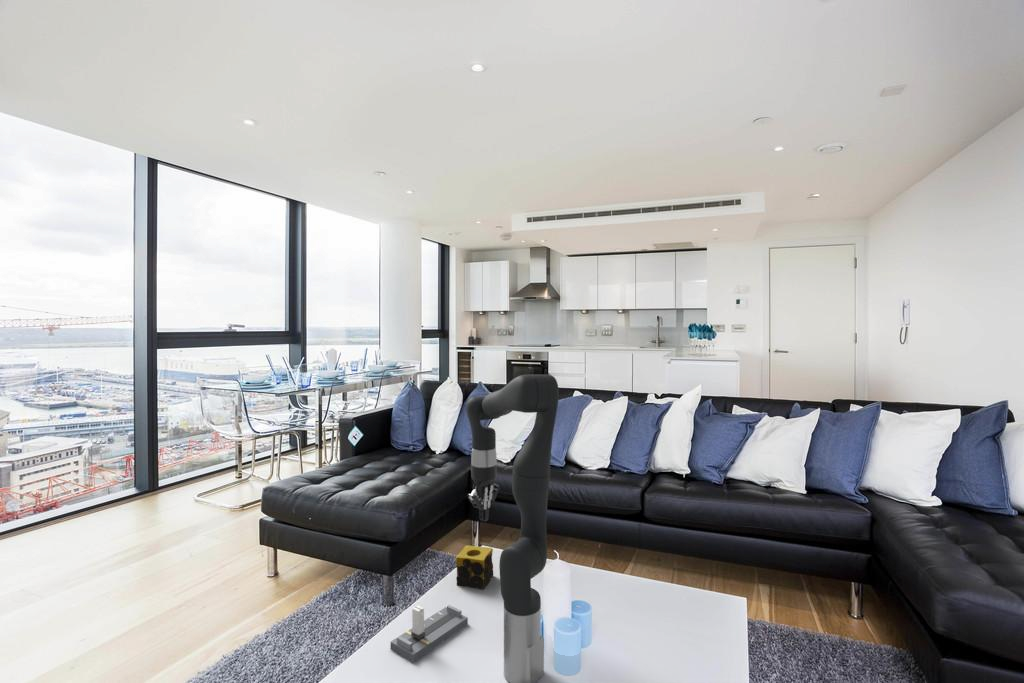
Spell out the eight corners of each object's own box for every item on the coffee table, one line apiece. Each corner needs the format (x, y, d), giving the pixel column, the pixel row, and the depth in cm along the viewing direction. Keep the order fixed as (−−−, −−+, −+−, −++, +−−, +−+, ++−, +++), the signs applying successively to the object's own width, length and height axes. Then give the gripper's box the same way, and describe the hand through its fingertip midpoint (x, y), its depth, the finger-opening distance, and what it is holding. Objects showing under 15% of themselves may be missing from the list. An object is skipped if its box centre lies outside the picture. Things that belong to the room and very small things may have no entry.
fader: (425, 635, 138) (425, 608, 138) (418, 639, 136) (418, 612, 136) (417, 631, 140) (417, 604, 139) (411, 635, 138) (411, 608, 137)
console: (467, 624, 147) (467, 612, 147) (413, 662, 130) (413, 648, 130) (445, 613, 153) (445, 601, 153) (390, 648, 136) (390, 635, 136)
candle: (493, 575, 176) (493, 547, 176) (484, 590, 166) (484, 560, 166) (466, 572, 179) (466, 544, 179) (455, 586, 169) (455, 556, 169)
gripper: (479, 470, 143) (479, 530, 143) (507, 460, 154) (507, 516, 154) (459, 465, 147) (459, 524, 148) (488, 456, 158) (488, 511, 158)
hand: (484, 520), depth 151 cm, fingers closed
